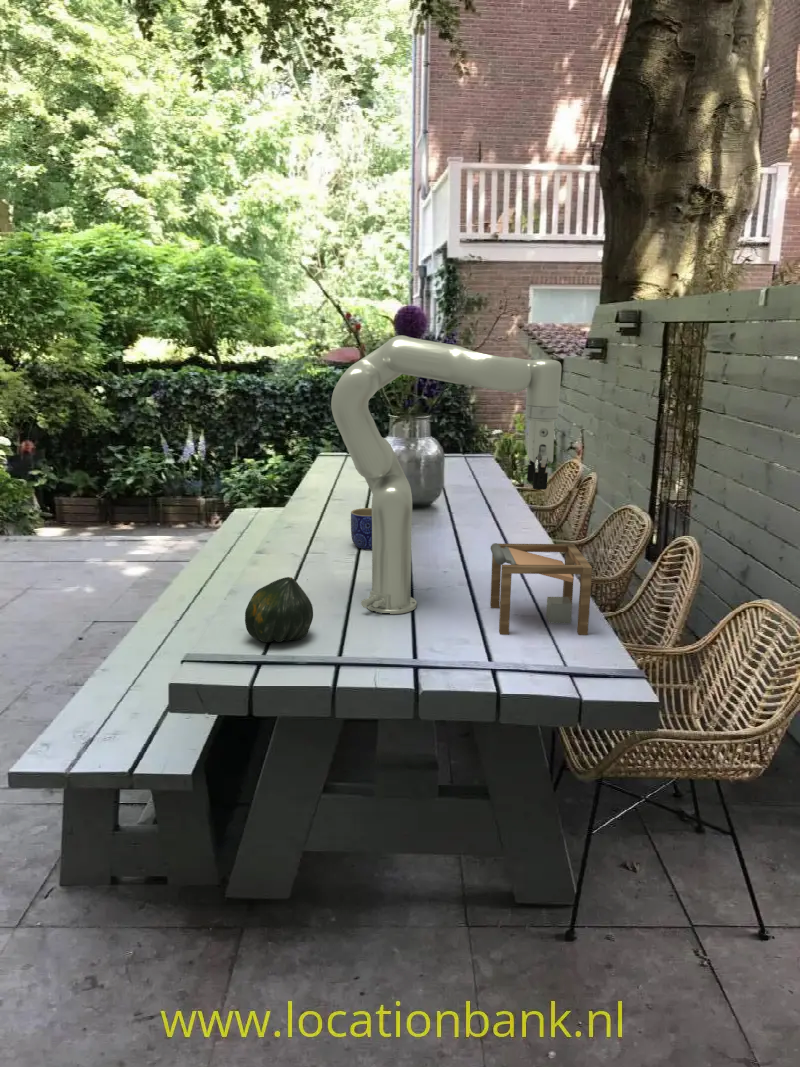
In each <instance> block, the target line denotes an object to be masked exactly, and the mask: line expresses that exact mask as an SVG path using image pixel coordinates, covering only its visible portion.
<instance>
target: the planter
mask: <svg viewBox="0 0 800 1067" xmlns="http://www.w3.org/2000/svg"><path fill="white" fill-rule="evenodd" d="M350 534H351V542H352V544H354V546H355V547H357V548H358V549H360V548H362V549H361V550H366V549H371V550H372V507H363V508H356V509H352V510H351V511H350Z"/></svg>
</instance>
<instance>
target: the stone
mask: <svg viewBox="0 0 800 1067" xmlns="http://www.w3.org/2000/svg"><path fill="white" fill-rule="evenodd" d="M572 608H573V602H572V603H571V601H570V599H569V598H568V597H563V596H547V597H546V608H545V609H546V614H545V616H546V619H547V621H548V623H549V624H571V623H572V614H573V613H572V612H573V611H572V610H573V609H572Z"/></svg>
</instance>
